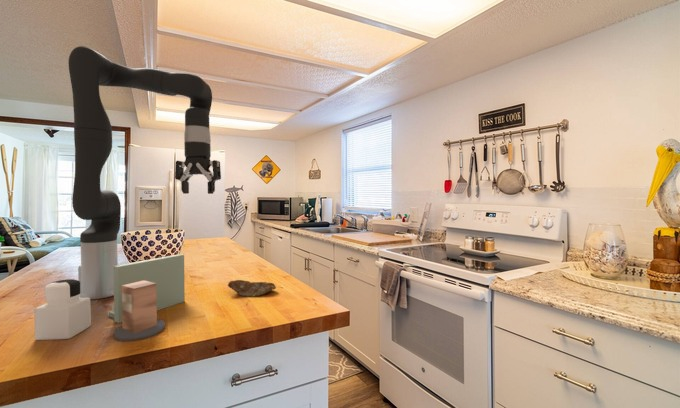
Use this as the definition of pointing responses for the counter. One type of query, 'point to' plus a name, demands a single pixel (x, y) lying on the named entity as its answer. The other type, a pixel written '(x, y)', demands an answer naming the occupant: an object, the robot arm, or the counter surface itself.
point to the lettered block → (139, 306)
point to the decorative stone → (251, 287)
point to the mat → (130, 336)
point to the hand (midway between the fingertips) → (198, 193)
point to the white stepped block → (62, 311)
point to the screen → (157, 271)
